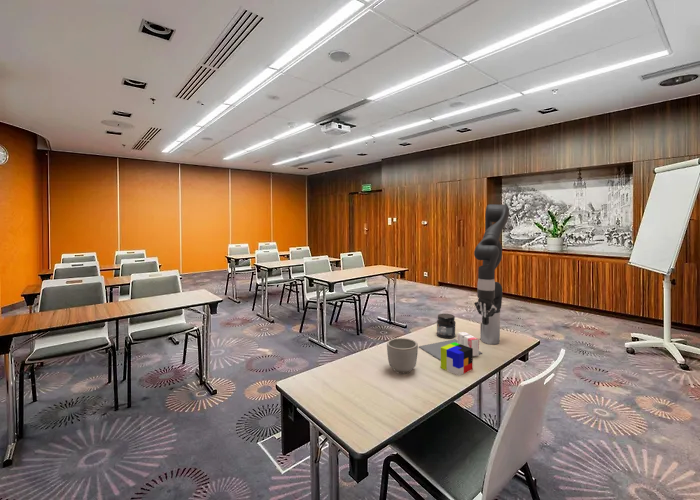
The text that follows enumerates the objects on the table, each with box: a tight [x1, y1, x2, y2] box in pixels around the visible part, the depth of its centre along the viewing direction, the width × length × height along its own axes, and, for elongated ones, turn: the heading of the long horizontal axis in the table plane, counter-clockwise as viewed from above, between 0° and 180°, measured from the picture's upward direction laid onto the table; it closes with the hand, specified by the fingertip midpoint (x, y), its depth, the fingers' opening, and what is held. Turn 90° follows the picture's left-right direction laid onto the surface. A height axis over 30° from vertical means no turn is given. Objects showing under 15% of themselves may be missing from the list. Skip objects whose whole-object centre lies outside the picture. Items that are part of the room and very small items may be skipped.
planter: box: [386, 337, 419, 375], centre depth 156 cm, size 14×14×13 cm
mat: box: [418, 338, 483, 362], centre depth 178 cm, size 21×24×1 cm
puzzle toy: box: [440, 342, 474, 377], centre depth 157 cm, size 10×10×10 cm
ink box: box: [456, 331, 480, 357], centre depth 174 cm, size 9×5×12 cm
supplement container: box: [436, 313, 457, 339], centre depth 199 cm, size 10×10×12 cm
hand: (485, 324), depth 160 cm, fingers closed
